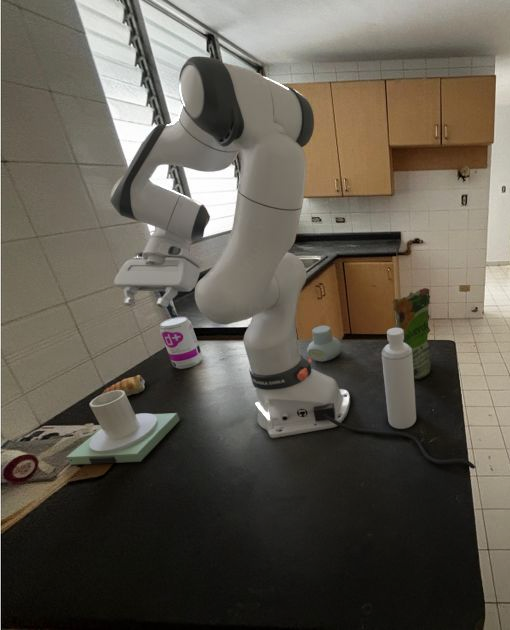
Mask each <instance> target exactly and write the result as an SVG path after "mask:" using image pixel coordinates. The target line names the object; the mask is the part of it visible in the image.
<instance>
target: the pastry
mask: <svg viewBox="0 0 510 630" xmlns="http://www.w3.org/2000/svg"><path fill="white" fill-rule="evenodd" d="M145 383H146V382H145V379H144V378H143V377H142V376H141V375H140V374H137V375H136V376H132V377H127V378H124V379H122V380H120V381H118V382H116V383H114V384H112V385H110V386H108V387H107V388H105V389H104V390H103V392H102V393H101V394H100V395H102V394H104V393H107V392H110V391H115V390H122V391H124V392H125V394H126V396H127V397H129V396H131V395H137V394H140V393H141V392H143V391H144V390H145Z"/></svg>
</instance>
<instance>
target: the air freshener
mask: <svg viewBox="0 0 510 630" xmlns="http://www.w3.org/2000/svg"><path fill="white" fill-rule="evenodd" d="M311 335H312V341H311V342H310V343H309V344H308V346H307V348H306V353H307V356H308V357H309V358H310V357H311V360H314V361H317V362H327V361H330V360H334V359H335V358H337V357H338V356H339V355H340V354H341V352H342V350H343V345H342V342H341V341H340V340H339V339H338V338H336V337H334V336H333V333H332V327H331V326H329V325H318V326H316V327H314V328H313V329H312V330H311Z"/></svg>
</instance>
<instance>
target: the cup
mask: <svg viewBox="0 0 510 630" xmlns="http://www.w3.org/2000/svg"><path fill="white" fill-rule="evenodd" d="M101 394H102V393H101ZM101 394H100V395H97V396H96V397H95V398H93V399H91V401H90V402H89V407H90V409H91V411H92V413H93V415H94V416H95V419H96V420H97V422H98V424H99V426H100V429H101V428H102V430H103V431H104V433H105V435H106V437H107V438H108V439H109V440H116V439H120V438H123V437H126V436H128V435H130V434H132V433H133V432H134V431H136V430H137V429H138V427H139V425H140V424H139V422H138V419H137V417H136V415H135V414H136V413H135V411H134V409H133V407H132V405H131V402H130V400H129V398H128V396H126V394H125V392H124V391H122V390H115V391H110V392H107V393H104V394H102V395H101Z"/></svg>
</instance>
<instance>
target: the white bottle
mask: <svg viewBox="0 0 510 630" xmlns="http://www.w3.org/2000/svg"><path fill="white" fill-rule="evenodd" d="M386 338H387V341H388V344H386V345H385V346H383V348H382V349H381V352H380V353H381V362H382V372H383V380H384V381H383V382H384V392H385V401H386V413H387V421H388V423H389V425H390V426H391V427H392V428H394V429H397V430H405V429H409V428H410V427H412V426H413V425H414V424H415V423H416V421H417V406H416V389H415V377H414V372H413V357H412V350H411V349H412V348H411V347H410V346H409V345H407V344H406V343H403V340H404V331H403V329H401V328H395V327H391V328H389V329H387V330H386ZM409 347H410V348H409Z"/></svg>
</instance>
